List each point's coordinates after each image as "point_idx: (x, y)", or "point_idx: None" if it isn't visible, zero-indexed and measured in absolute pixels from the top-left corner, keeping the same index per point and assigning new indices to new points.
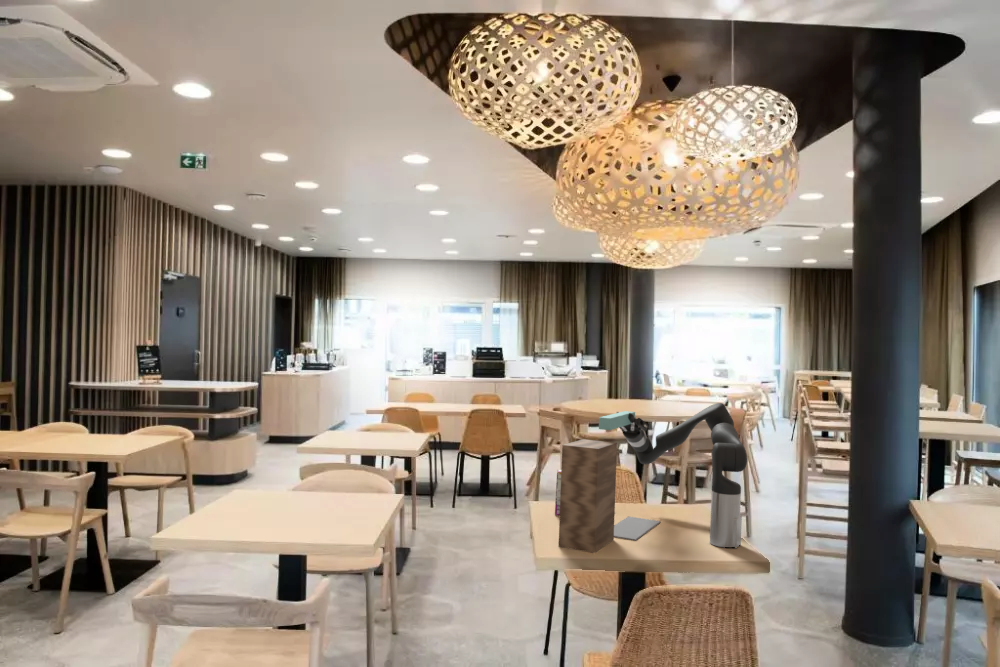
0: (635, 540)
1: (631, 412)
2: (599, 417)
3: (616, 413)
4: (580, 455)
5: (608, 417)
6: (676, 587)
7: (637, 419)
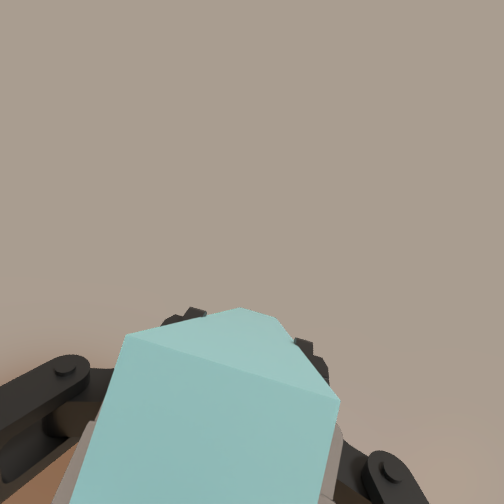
0: None
1: (189, 327)
2: (274, 317)
3: (281, 332)
4: None
5: (251, 311)
6: None
7: (93, 374)
